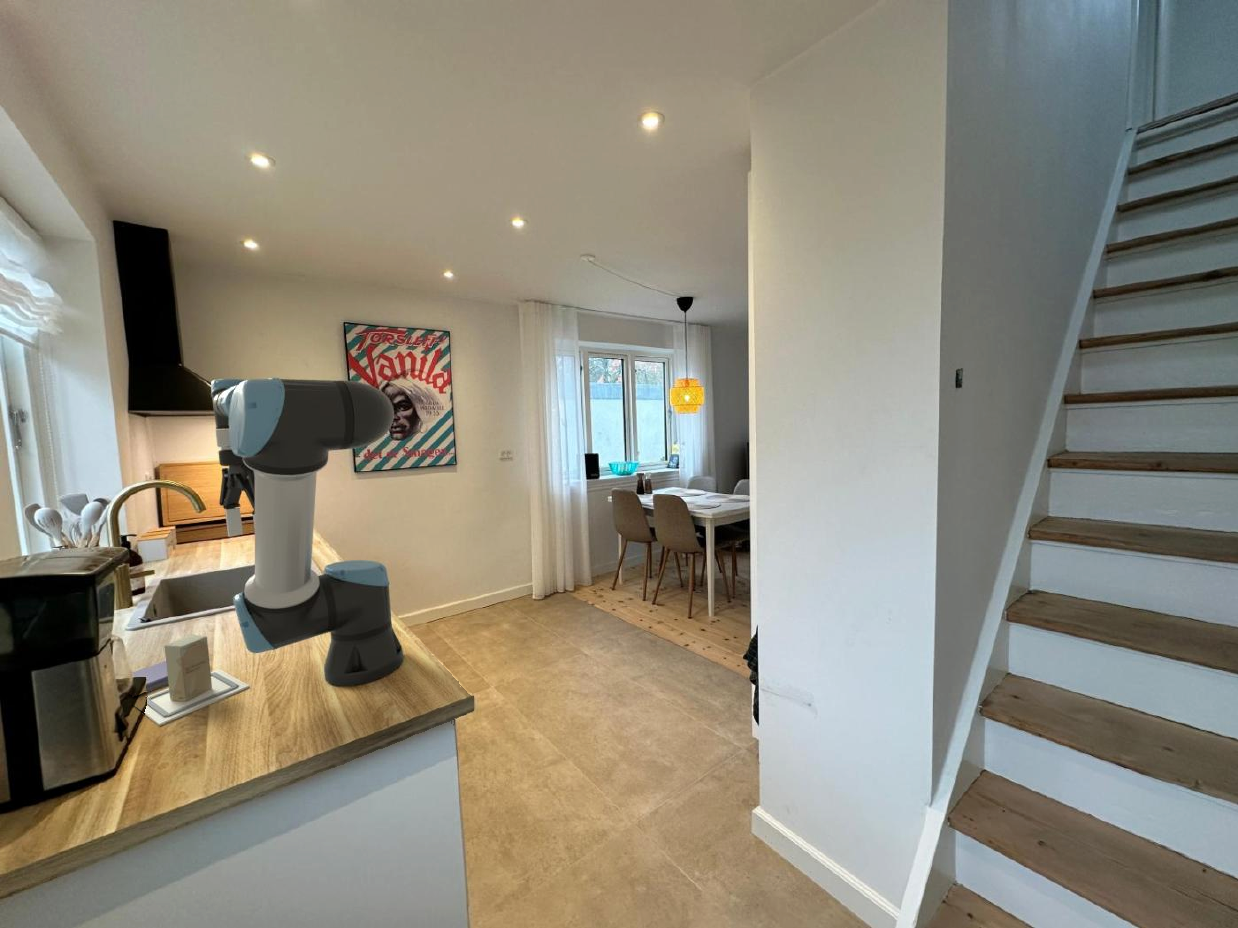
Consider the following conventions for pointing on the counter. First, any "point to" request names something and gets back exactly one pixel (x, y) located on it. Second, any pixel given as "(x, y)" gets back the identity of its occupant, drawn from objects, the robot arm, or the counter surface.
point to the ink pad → (154, 676)
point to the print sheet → (168, 710)
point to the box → (188, 667)
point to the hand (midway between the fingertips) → (249, 538)
